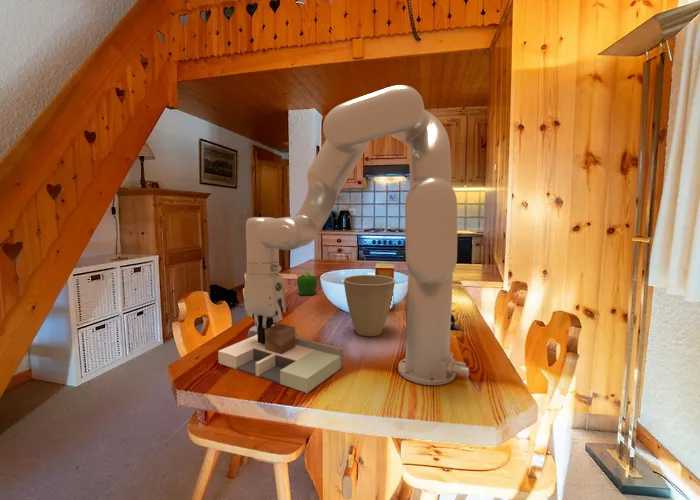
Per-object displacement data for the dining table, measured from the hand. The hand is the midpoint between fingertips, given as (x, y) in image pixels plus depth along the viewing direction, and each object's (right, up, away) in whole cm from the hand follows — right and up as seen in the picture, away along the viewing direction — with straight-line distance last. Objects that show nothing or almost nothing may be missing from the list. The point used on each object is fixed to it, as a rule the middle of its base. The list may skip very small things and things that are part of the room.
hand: (264, 341), depth 87 cm
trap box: (+5, -4, -5) cm, 8 cm away
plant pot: (+27, -2, +17) cm, 32 cm away
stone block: (0, -3, +11) cm, 12 cm away
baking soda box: (+34, +1, +43) cm, 55 cm away
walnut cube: (+4, -1, -3) cm, 5 cm away
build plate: (+51, -2, +22) cm, 56 cm away
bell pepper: (+3, +4, +62) cm, 62 cm away
